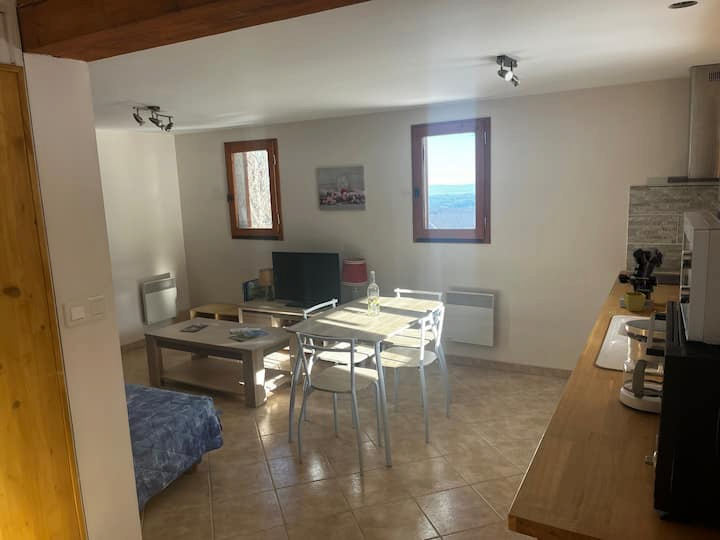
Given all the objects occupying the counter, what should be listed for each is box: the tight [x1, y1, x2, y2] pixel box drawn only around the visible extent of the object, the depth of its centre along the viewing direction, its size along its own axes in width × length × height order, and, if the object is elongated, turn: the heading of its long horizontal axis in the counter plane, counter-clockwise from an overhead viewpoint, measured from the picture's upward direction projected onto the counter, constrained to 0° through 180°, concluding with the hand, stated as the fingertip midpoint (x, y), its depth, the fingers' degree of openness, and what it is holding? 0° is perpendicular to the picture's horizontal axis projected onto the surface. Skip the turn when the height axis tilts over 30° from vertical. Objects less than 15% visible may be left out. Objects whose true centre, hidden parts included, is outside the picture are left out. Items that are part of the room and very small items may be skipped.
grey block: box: [619, 297, 627, 309], centre depth 292 cm, size 4×4×4 cm
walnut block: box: [642, 299, 655, 310], centre depth 288 cm, size 4×4×4 cm
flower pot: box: [623, 291, 646, 312], centre depth 283 cm, size 9×9×9 cm
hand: (634, 292), depth 287 cm, fingers closed
